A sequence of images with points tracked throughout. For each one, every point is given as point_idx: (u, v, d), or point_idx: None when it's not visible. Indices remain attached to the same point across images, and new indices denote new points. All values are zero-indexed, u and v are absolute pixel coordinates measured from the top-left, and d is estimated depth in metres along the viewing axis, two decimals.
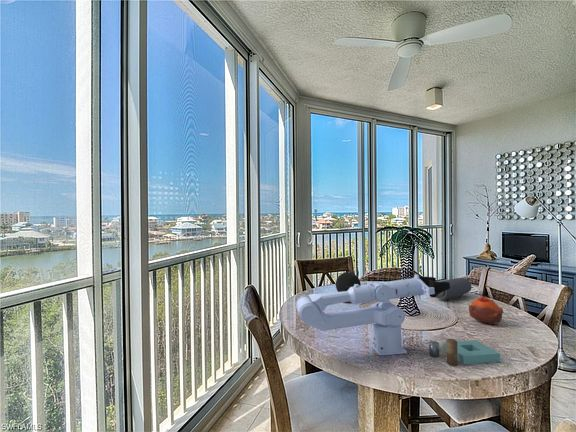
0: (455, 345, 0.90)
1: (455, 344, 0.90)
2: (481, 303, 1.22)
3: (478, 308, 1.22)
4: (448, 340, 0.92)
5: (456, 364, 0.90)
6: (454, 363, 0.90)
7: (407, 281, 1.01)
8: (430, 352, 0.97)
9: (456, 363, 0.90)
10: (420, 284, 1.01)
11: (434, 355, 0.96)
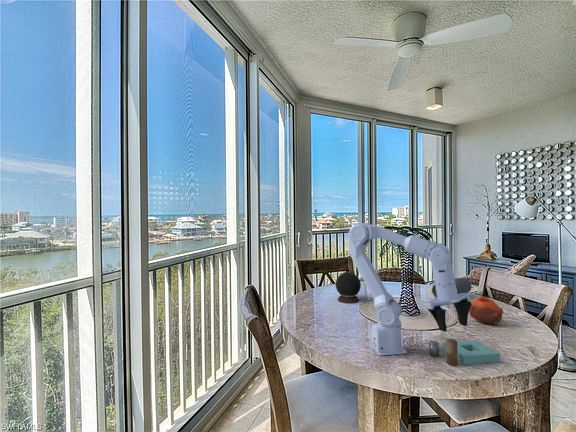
0: (455, 345, 0.90)
1: (455, 344, 0.90)
2: (481, 303, 1.22)
3: (478, 308, 1.22)
4: (448, 340, 0.92)
5: (456, 364, 0.90)
6: (454, 363, 0.90)
7: (447, 287, 0.91)
8: (430, 352, 0.97)
9: (456, 363, 0.90)
10: (443, 299, 0.91)
11: (434, 355, 0.96)
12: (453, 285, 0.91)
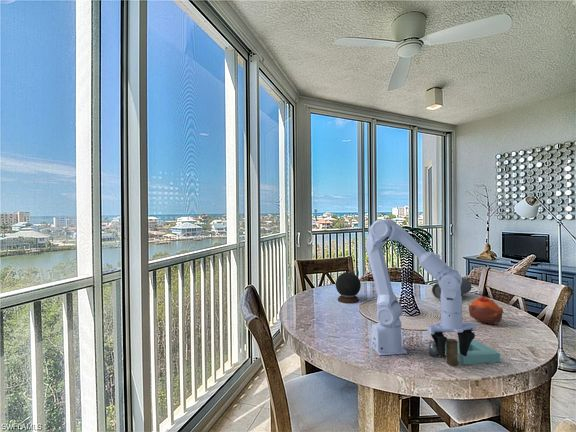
0: (455, 345, 0.90)
1: (455, 344, 0.90)
2: (481, 303, 1.22)
3: (478, 308, 1.22)
4: (448, 340, 0.92)
5: (456, 364, 0.90)
6: (454, 363, 0.90)
7: (452, 315, 0.89)
8: (430, 352, 0.97)
9: (456, 363, 0.90)
10: (446, 327, 0.90)
11: (434, 355, 0.96)
12: (459, 315, 0.89)
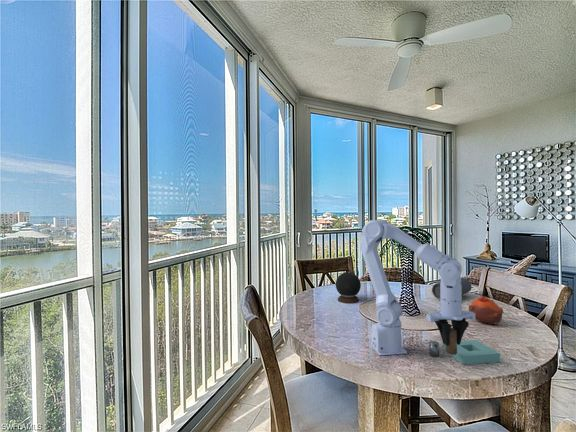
0: (454, 334, 0.90)
1: (454, 333, 0.90)
2: (481, 303, 1.22)
3: (478, 308, 1.22)
4: None
5: (455, 353, 0.91)
6: (453, 352, 0.90)
7: (452, 303, 0.89)
8: (430, 352, 0.97)
9: (455, 352, 0.91)
10: (445, 315, 0.90)
11: (434, 355, 0.96)
12: (458, 303, 0.89)
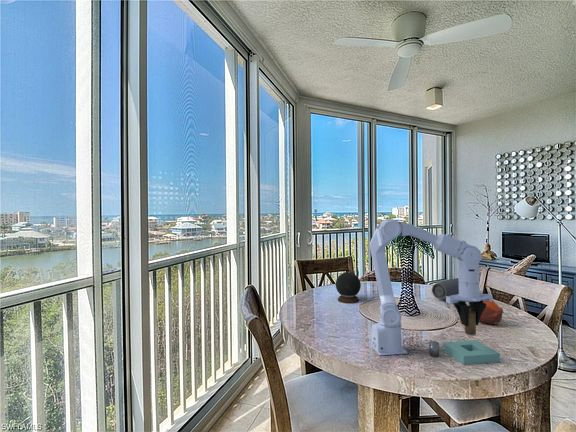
0: (473, 315, 0.95)
1: (473, 314, 0.95)
2: None
3: None
4: None
5: (474, 333, 0.95)
6: (472, 332, 0.95)
7: (470, 285, 0.94)
8: (430, 352, 0.97)
9: (474, 332, 0.95)
10: (464, 297, 0.95)
11: (434, 355, 0.96)
12: (476, 285, 0.94)
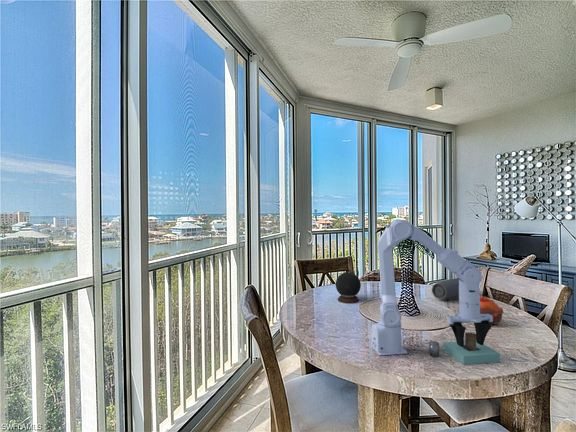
0: (474, 338, 0.95)
1: (474, 337, 0.95)
2: (481, 303, 1.22)
3: None
4: (467, 333, 0.97)
5: None
6: None
7: (470, 306, 0.94)
8: (430, 352, 0.97)
9: None
10: (464, 317, 0.95)
11: (434, 355, 0.96)
12: (477, 306, 0.94)
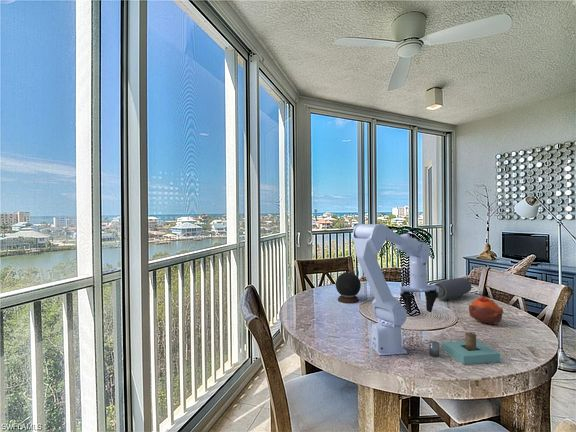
0: (474, 338, 0.95)
1: (474, 337, 0.95)
2: (481, 303, 1.22)
3: (478, 308, 1.22)
4: (467, 333, 0.97)
5: None
6: None
7: (418, 277, 1.08)
8: (430, 352, 0.97)
9: None
10: (413, 287, 1.09)
11: (434, 355, 0.96)
12: (423, 277, 1.07)
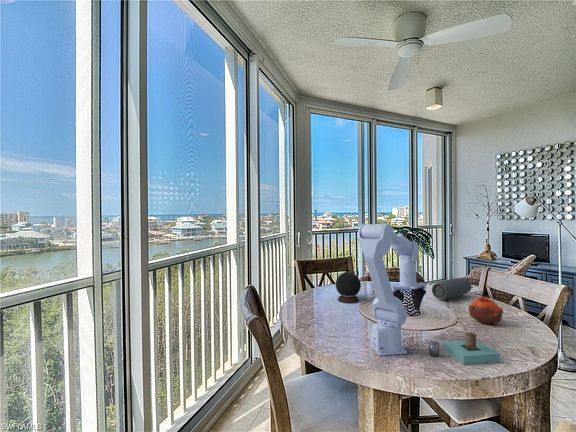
0: (474, 338, 0.95)
1: (474, 337, 0.95)
2: (481, 303, 1.22)
3: (478, 308, 1.22)
4: (467, 333, 0.97)
5: None
6: None
7: (409, 276, 1.11)
8: (430, 352, 0.97)
9: None
10: (404, 285, 1.11)
11: (434, 355, 0.96)
12: (414, 275, 1.11)
